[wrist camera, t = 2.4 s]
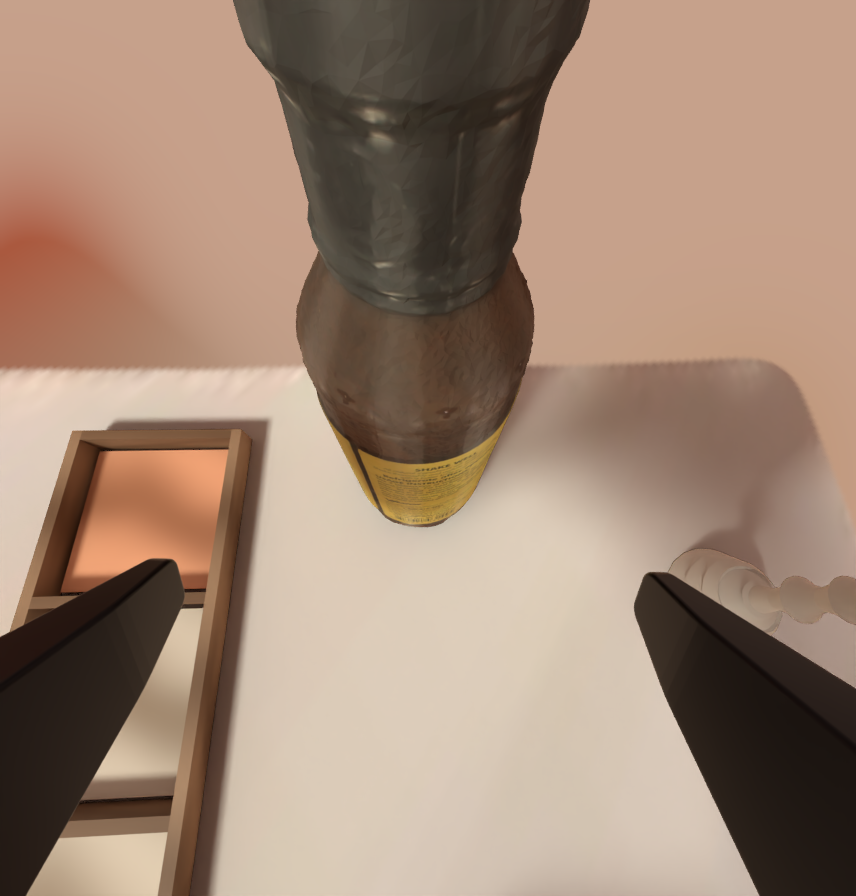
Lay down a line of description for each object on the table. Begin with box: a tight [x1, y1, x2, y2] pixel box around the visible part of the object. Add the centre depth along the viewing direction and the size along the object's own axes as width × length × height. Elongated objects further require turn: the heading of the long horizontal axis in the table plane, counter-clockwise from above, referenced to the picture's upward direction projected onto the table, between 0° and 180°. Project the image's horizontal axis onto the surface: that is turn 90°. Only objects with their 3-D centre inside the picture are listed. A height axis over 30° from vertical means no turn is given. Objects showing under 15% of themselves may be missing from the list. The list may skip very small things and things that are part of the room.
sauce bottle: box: [233, 0, 590, 527], centre depth 13 cm, size 6×6×20 cm
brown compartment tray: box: [10, 429, 252, 896], centre depth 17 cm, size 25×9×2 cm, turn 2°
